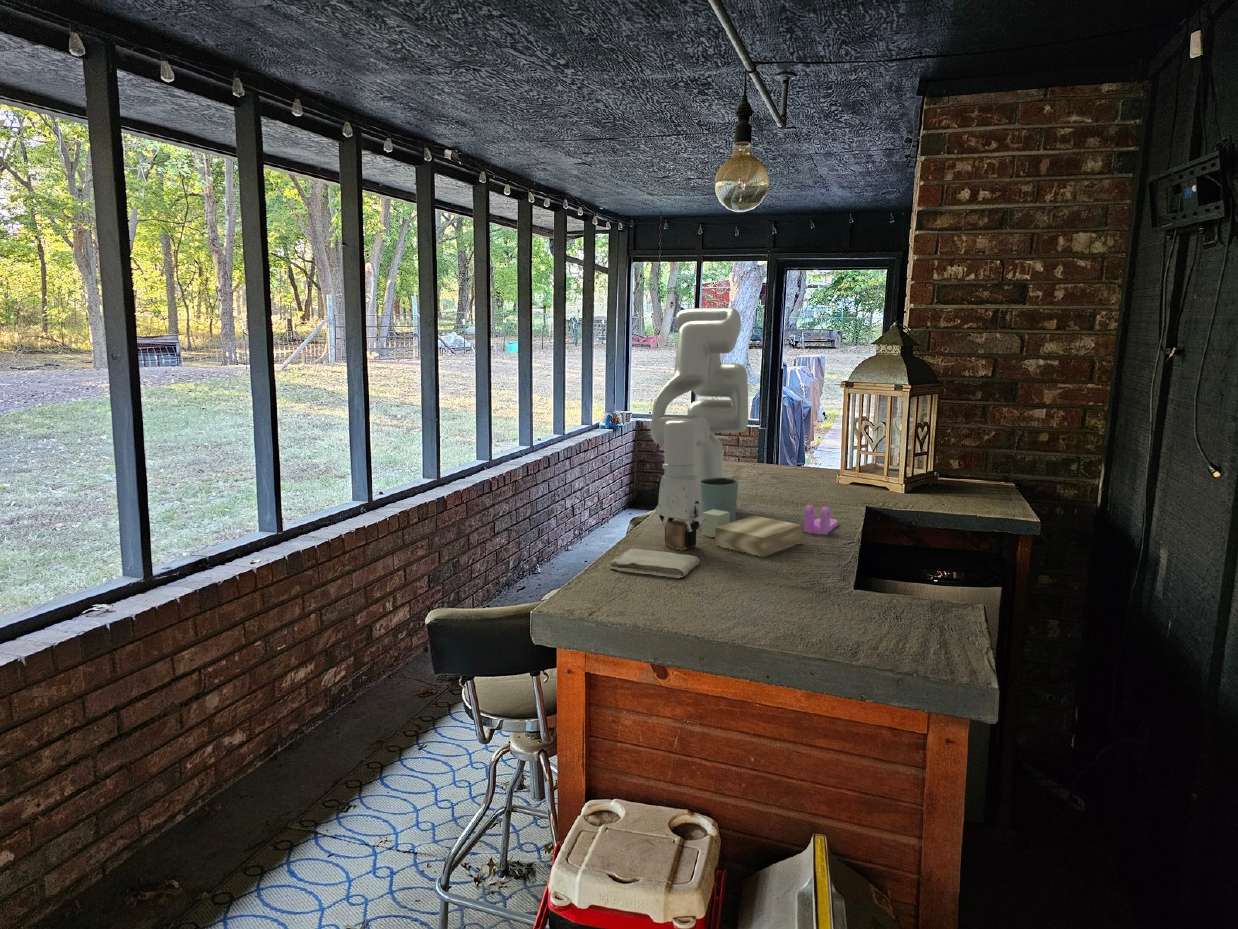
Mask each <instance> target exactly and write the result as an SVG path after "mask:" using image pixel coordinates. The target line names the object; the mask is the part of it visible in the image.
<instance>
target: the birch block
mask: <svg viewBox="0 0 1238 929" xmlns="http://www.w3.org/2000/svg"><path fill="white" fill-rule="evenodd" d="M802 527H803V525H802V524H799V523H794V522H788V521H784V520H778V519H773V518H769V517H768V518H767V517H763V516H759V515H751V516H749V517H748V516H747V517H745V518H741V519H739V520H735V522H732V523H728V524H725V525H721V526H718V527H715V538H714V546H715V545H716V547H718V546H720V547H719V548H723V549H727V548H729V549H728V550H731V549H733V550H732V551H735V550H736V552H739V551H743V552H742V553H744V552H746V553H745V554H748V553H749V554H748V555H751V556H756V555H758V556H757V557H760V556H761V558H765V557H768V556H771V555H773V554H776V553H778V552H780V551H784V550H787V549H789V548H792V547H794V545H795V546H797V545H796V544H798V545H800V544H802V534H803V533H802V532H803V528H802ZM786 548H787V549H786ZM783 549H784V550H783ZM777 551H778V552H777ZM775 552H776V553H775ZM764 556H765V557H764Z"/></svg>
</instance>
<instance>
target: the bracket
mask: <svg viewBox="0 0 1238 929" xmlns="http://www.w3.org/2000/svg"><path fill="white" fill-rule="evenodd" d="M803 513H804V514H803V515H804V520H803V533H804V532H808V533H807V534H812V533H814V534H813V535H820V534H825V535H824V536H827V534H829V533H830V532H832V531H833V530H834V529H835V528H836V526H837V527H838V520H837V519H836V518H831V508H830V507H829V506H822V507H821V510H820V517H819V518H816V519H815V507H814V505H812V504H806V505H805V508H804V512H803ZM834 527H835V528H834ZM833 528H834V529H833ZM832 529H833V530H832ZM829 531H830V532H829Z"/></svg>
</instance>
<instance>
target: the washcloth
mask: <svg viewBox="0 0 1238 929" xmlns="http://www.w3.org/2000/svg"><path fill="white" fill-rule="evenodd" d="M609 564H610V565H609V566H612V567H617V568H628V569H633V570H637V571H643V572H656V573H663V574H668V575H681V576H685V575H686V576H687V575H689V573H690V572H691V571H692V570H691V569H692V568H694V567H695V566H696V565H697V566H699V564H700V559H699V557H697V556H695V555H690V554H682V553H681V554H680V553H676V552H671V551H668V552H667V551H658V550H650V549H649V550H648V549H640V548H629V549H628V550H627V549H626V550H624V552H623V553H622V554H620V555H618V556H617V557H615V558H614V559H612V560H610V561H609ZM697 566H696V567H697ZM696 567H695V568H696ZM695 568H694V569H695ZM690 570H691V571H690ZM689 571H690V572H689ZM686 576H685V577H686Z"/></svg>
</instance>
